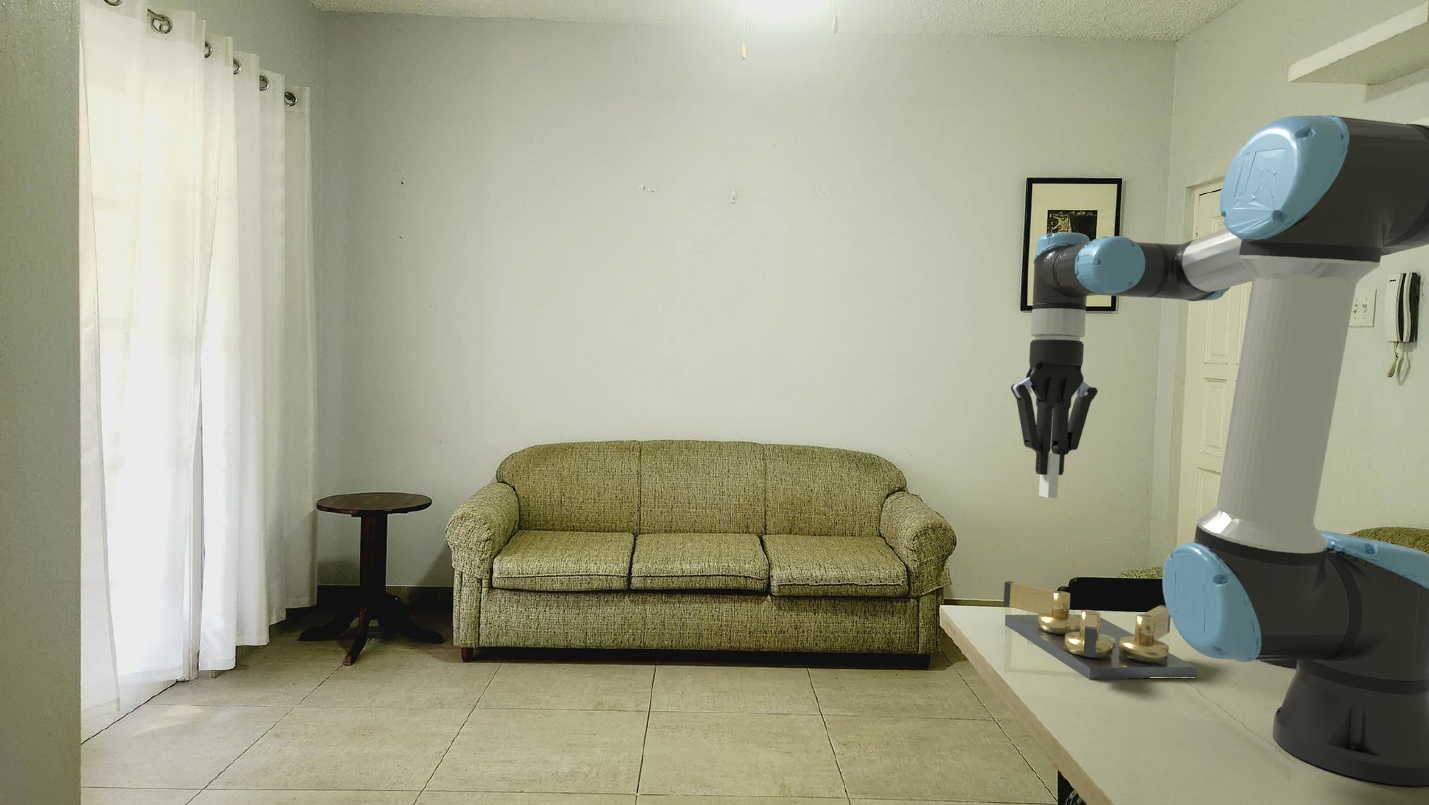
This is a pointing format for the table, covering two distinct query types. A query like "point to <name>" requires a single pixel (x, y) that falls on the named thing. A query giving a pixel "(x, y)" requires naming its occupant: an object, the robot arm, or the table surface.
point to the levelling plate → (1099, 667)
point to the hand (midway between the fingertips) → (1047, 496)
